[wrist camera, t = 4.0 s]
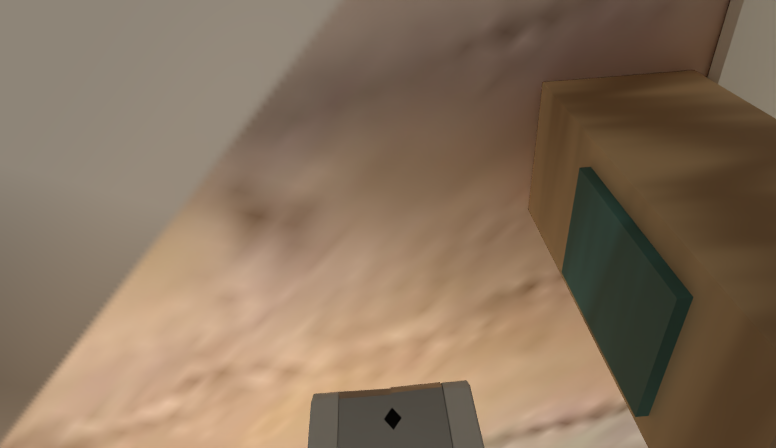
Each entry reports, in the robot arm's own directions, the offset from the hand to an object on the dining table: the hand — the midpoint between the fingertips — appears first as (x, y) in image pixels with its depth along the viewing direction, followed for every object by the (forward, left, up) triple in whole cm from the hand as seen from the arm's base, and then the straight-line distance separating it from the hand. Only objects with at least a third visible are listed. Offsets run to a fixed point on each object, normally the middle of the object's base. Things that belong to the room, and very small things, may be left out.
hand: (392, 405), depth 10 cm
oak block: (-8, 0, -10) cm, 13 cm away
